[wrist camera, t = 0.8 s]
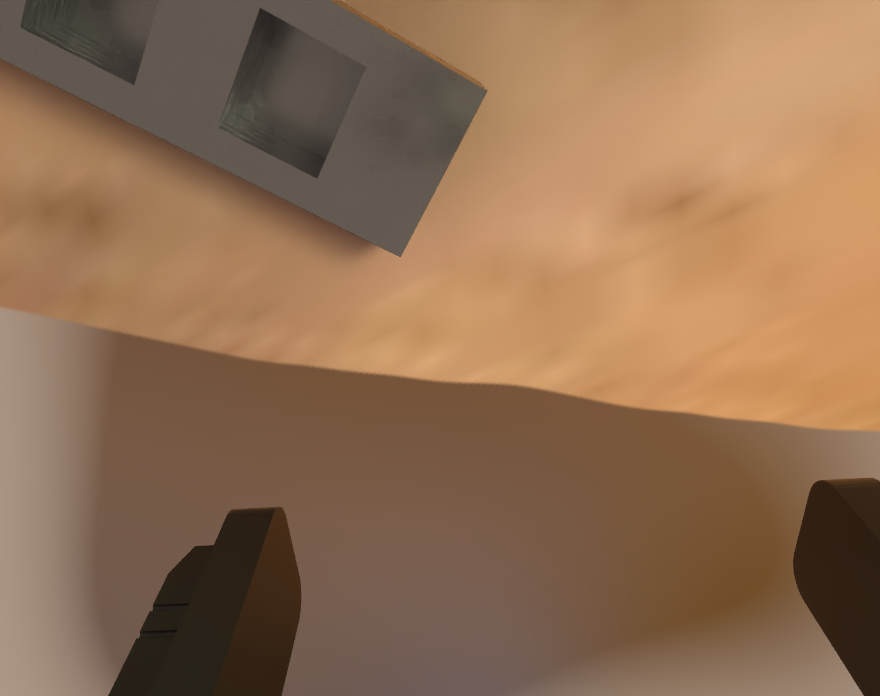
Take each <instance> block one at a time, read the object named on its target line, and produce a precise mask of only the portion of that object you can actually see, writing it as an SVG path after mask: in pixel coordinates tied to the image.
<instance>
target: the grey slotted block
mask: <svg viewBox="0 0 880 696" xmlns="http://www.w3.org/2000/svg"><path fill="white" fill-rule="evenodd" d="M0 59H2V60H4V61H6V62H8V63H10V64H12V65H14V66H16V67H18V68H20V69H22V70H24V71H26V72H28V73H30V74H32V75H34V76H36V77H38V78H40V79H42V80H44V81H46V82H48V83H50V84H52V85H54V86H56V87H58V88H60V89H62V90H64V91H66V92H68V93H70V94H72V95H74V96H76V97H78V98H81V99H83V100H85V101H87V102H89V103H91V104H93V105H95V106H97V107H99V108H101V109H103V110H105V111H107V112H109V113H111V114H113V115H115V116H117V117H119V118H121V119H123V120H125V121H127V122H129V123H131V124H133V125H135V126H137V127H139V128H141V129H143V130H145V131H147V132H149V133H151V134H153V135H155V136H157V137H159V138H161V139H163V140H165V141H167V142H169V143H171V144H173V145H175V146H177V147H179V148H181V149H183V150H185V151H187V152H189V153H191V154H193V155H195V156H197V157H199V158H201V159H204V160H206V161H208V162H210V163H212V164H214V165H216V166H218V167H220V168H222V169H224V170H226V171H228V172H230V173H232V174H234V175H236V176H238V177H240V178H242V179H244V180H246V181H248V182H250V183H252V184H254V185H256V186H258V187H260V188H262V189H264V190H266V191H268V192H270V193H272V194H274V195H276V196H278V197H280V198H282V199H284V200H286V201H288V202H290V203H292V204H294V205H296V206H298V207H300V208H302V209H304V210H306V211H308V212H310V213H312V214H314V215H316V216H318V217H320V218H322V219H324V220H327V221H329V222H331V223H333V224H335V225H337V226H339V227H341V228H343V229H345V230H347V231H349V232H351V233H353V234H355V235H357V236H359V237H361V238H363V239H365V240H367V241H369V242H371V243H373V244H375V245H377V246H379V247H381V248H383V249H385V250H387V251H389V252H391V253H393V254H395V255H397V256H399V257H401V255H402V253H403V252H404V250H405V248H406V246H407V244H408V242H409V240H410V238H411V236H412V234H413V232H414V230H415V229H416V227H417V225H418V223H419V221H420V219H421V217H422V215H423V213H424V211H425V209H426V207H427V206H428V204H429V202H430V200H431V198H432V196H433V194H434V192H435V190H436V188H437V186H438V185H439V183H440V181H441V179H442V177H443V175H444V173H445V171H446V169H447V167H448V165H449V163H450V162H451V160H452V158H453V156H454V154H455V152H456V150H457V148H458V146H459V144H460V142H461V140H462V139H463V137H464V135H465V133H466V131H467V129H468V127H469V125H470V123H471V121H472V119H473V117H474V116H475V114H476V112H477V110H478V108H479V106H480V104H481V102H482V100H483V98H484V96H485V94H486V93H487V90H486V89H485V87H484V86H483V85H482V84H481V83H480V82H478V81H477V80H475V79H473V78H471V77H470V76H468V75H466V74H464V73H463V72H461V71H459V70H458V69H456V68H454V67H452V66H451V65H449V64H447V63H445V62H444V61H442V60H440V59H439V58H437V57H435V56H433V55H432V54H430V53H428V52H426V51H425V50H423V49H421V48H420V47H418V46H416V45H414V44H413V43H411V42H409V41H407V40H406V39H404V38H402V37H401V36H399V35H397V34H395V33H394V32H392V31H390V30H388V29H387V28H385V27H383V26H382V25H380V24H378V23H376V22H375V21H373V20H371V19H369V18H368V17H366V16H364V15H363V14H361V13H359V12H357V11H356V10H354V9H352V8H350V7H349V6H347V5H345V4H344V3H342V2H340V1H338V0H0Z"/></svg>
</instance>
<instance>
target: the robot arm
mask: <svg viewBox="0 0 880 696" xmlns="http://www.w3.org/2000/svg"><path fill="white" fill-rule="evenodd" d="M793 567H794V575H795V580H796V584H797V587H798V589H799V592H800V594H801V596H802V598H803V600H804V602H805V603H806V605H807V606H808V608H809V610H810V611H811V613H812V614H813V616H814V618H815V619H816V621H817V622H818V624H819V625H820V627H821V628H822V630H823V632H824V633H825V635H826V636H827V638H828V639H829V641H830V642H831V644H832V646H833V647H834V649H835V651H836V652H837V654H838V655H839V657H840V659H841V660H842V662H843V663H844V665H845V667H846V668H847V670H848V671H849V673H850V674H851V676H852V678H853V679H854V681H855V682H856V684H857V685H858V687H859V689H860V690H861V692H862V693H863V695H864V696H880V481H878V480H876V479H874V478H856V479H838V480H821V481H817V482H815V483H814V484H813V486H812V487H811V490H810V493H809V496H808V501H807V504H806V508H805V512H804V516H803V520H802V525H801V529H800V533H799V536H798V540H797V544H796V548H795V552H794V558H793ZM300 611H301V583H300V576H299V572H298V567H297V563H296V559H295V554H294V550H293V546H292V541H291V536H290V532H289V528H288V524H287V519H286V515H285V512H284V510H283V509H282V508H281V507H269V508H250V509H233V510H231V511H230V512H229V513H228V515H227V517H226V519H225V521H224V523H223V525H222V528H221V530H220V532H219V535H218V537H217V539H216V542H215V544H214V545H210V546H195V547H194V548H193V549H192V550H191V551H190V552H189V553H188V554H187V555H186V556H185V557H184V558H183V559H182V560H181V561H180V562H179V563H178V565H176V566H175V567H174V568H173V569H172V570H171V571H170V573H169V574H168V575H167V577H166V580H165V582H164V584H163V586H162V588H161V590H160V592H159V594H158V596H157V598H156V600H155V602H154V604H153V611H150V612H149V614H148V616H147V618H146V620H145V622H144V624H143V627H142V628H141V630H140V637H139V638H138V639H136V641H135V643H134V645H133V647H132V649H131V651H130V653H129V655H128V657H127V659H126V661H125V663H124V665H123V667H122V669H121V671H120V673H119V675H118V677H117V679H116V681H115V683H114V685H113V687H112V689H111V691H110V694H109V695H108V696H282V692H283V687H284V683H285V678H286V675H287V670H288V666H289V662H290V657H291V653H292V649H293V645H294V640H295V636H296V632H297V627H298V623H299V618H300Z"/></svg>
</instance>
